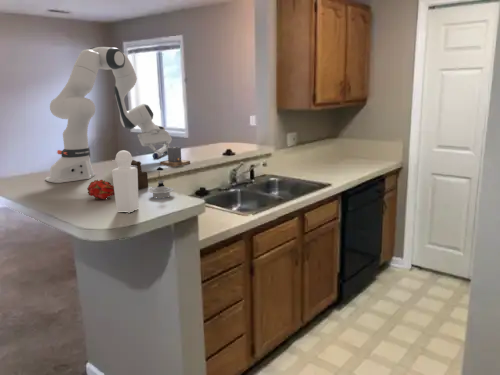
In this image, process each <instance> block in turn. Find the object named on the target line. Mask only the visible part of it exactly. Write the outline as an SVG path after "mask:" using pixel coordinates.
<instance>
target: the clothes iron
mask: <svg viewBox="0 0 500 375" xmlns="http://www.w3.org/2000/svg"><path fill="white" fill-rule="evenodd" d="M141 164H142V162H141V161H137V160H134V159H133V160H132V162H131V166H132V167H136V168H137V170H138V190H142V189H146V188H149V178H148V172H147V171H143V170H142V166H141Z"/></svg>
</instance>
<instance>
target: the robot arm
mask: <svg viewBox="0 0 500 375" xmlns="http://www.w3.org/2000/svg"><path fill="white" fill-rule="evenodd" d="M99 70H106V71H107V70H111V72H112V74H113V76H114V79H115V85H114V86H113V93H114V98H115V103H116V106H117V109H118V114H119V120H120V121H119V122H120V123H121V125H122V127H123V128H124V129H126V130H132V129H135V128H136V127H139V128H140V130H141V132H138V133H137V134H136V136H137V138H138V140H139V142H140V145H141V146H142V147H144V148H146V147H148V148H149V149H151V150H152V151H153V152H155V151H157V150H158V149H157V147H155V146H161V145H162V146H163V145H164V144H165V145H166V149H168V147H170V144H171V143H172V140H173V138H172V136H171V135H170V133H169V132H168V131H167V130H166V128H165V127H164V126H161V125H157V124H155V122H154V121H153V119H154V112H153V110H152V109H151V107H150V106H149V105H148V104H146V103H142V104H140V105H137V106H135V107H133V108H131V109H129V110H127V106H126V103H125V97H126V96H127V94H128V93H129V92H130V91H131V90H133V88H134V87H135V85H136V83H137V79H138V78H137V73H136V71H135V69H134V66H133V64H132V62H131V61H130V59H129V58H128V56H127V54H126V53H124V52H123V51H122V50H121V49H120V48H117V47H109V46H98V47H95V46H94V47H90V48H87V49H83V50H81V52H80V53H79V55H78V56H77V58H76V61H75V63H74V65H73V67H72V70H71V72H70V76H69V78H68V81H67V82H66V84H65V85H64V87H63V88H62V90H61V91H60V92H59V93H58V94H57V96H55V98H53V99H52V100H51V102H50V104H49V111H50V113H51V114H52V115H53V116H54V117H56V118H58V119H62V120H67V124H66V128H65V129H64V130H63V133H62V139H63V149H62V150H60V149H58V150H56V154H58V155H60V156H61V157H60V158H59V159H58V160H57V161H55V162H54V164H52V165H51V167H50V171H49V176H46V177H45V181H46V182H49V183H53V184H54V183H56V184H60V183H61V184H62V183H68V182H73V181H75V182H77V181H82V180H89V179H92V178H93V177H95V173H94V169H93V167H92V164H91V163H92V162H91V150H90V149H91V148H90V147H89V138H88V131H89V130H88V129H89V125H90V120H91V119H92V118H93V116H94V115H95V113H96V106H95V103H94V102H93V100H92V99H90V98H88V97H86V96H87V95H88V94H90V93H91V92H92V90H93V88H94V85H95V82H96V79H97V76H98V72H99Z"/></svg>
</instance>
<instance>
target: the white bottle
mask: <svg viewBox="0 0 500 375" xmlns="http://www.w3.org/2000/svg"><path fill="white" fill-rule="evenodd" d="M132 160H134V159H133V156H132V154H131V153H130V151H128V150H124V149H123V150H119V151H118V152H117V153H116V155H115V159H114V161H115V163H116V164H117V168H114V169H112V171H111V176H112V183H113V186H114V192H115V195H114V200H115V207H116V212H117V211H128V212H131V211H133V210H135V209H137V208H140V207H139V189H138V170H137V166H132V165H131V162H132Z"/></svg>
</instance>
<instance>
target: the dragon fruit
mask: <svg viewBox="0 0 500 375" xmlns="http://www.w3.org/2000/svg"><path fill="white" fill-rule="evenodd" d="M87 195H88V196H90V197H94V198H95V200H98V199H101V200H105V199H106V198H108V200H111V199H112V197H114V196H115V192H114V185H112V184H111V182H110V181H106V180H103V179H100V180H98V179H94V180H93V181H91V182H90V183H89V185H88V187H87Z"/></svg>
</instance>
